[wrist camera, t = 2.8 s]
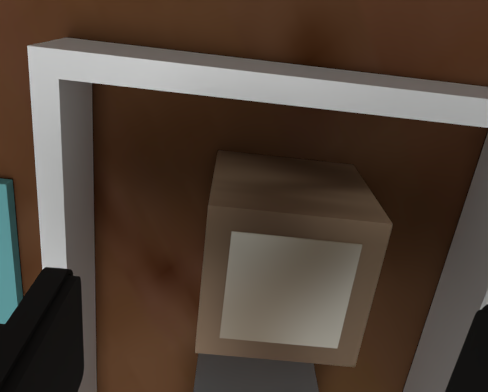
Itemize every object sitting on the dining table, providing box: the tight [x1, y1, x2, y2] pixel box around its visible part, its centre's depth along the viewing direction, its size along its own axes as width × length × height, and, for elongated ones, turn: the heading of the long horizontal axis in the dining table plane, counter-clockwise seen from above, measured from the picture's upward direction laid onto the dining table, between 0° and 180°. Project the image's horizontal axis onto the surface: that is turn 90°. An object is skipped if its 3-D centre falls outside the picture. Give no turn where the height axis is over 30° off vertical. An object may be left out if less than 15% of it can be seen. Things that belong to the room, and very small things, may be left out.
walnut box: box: [195, 150, 393, 367], centre depth 16 cm, size 5×5×5 cm
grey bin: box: [27, 38, 488, 392], centre depth 18 cm, size 16×21×3 cm
